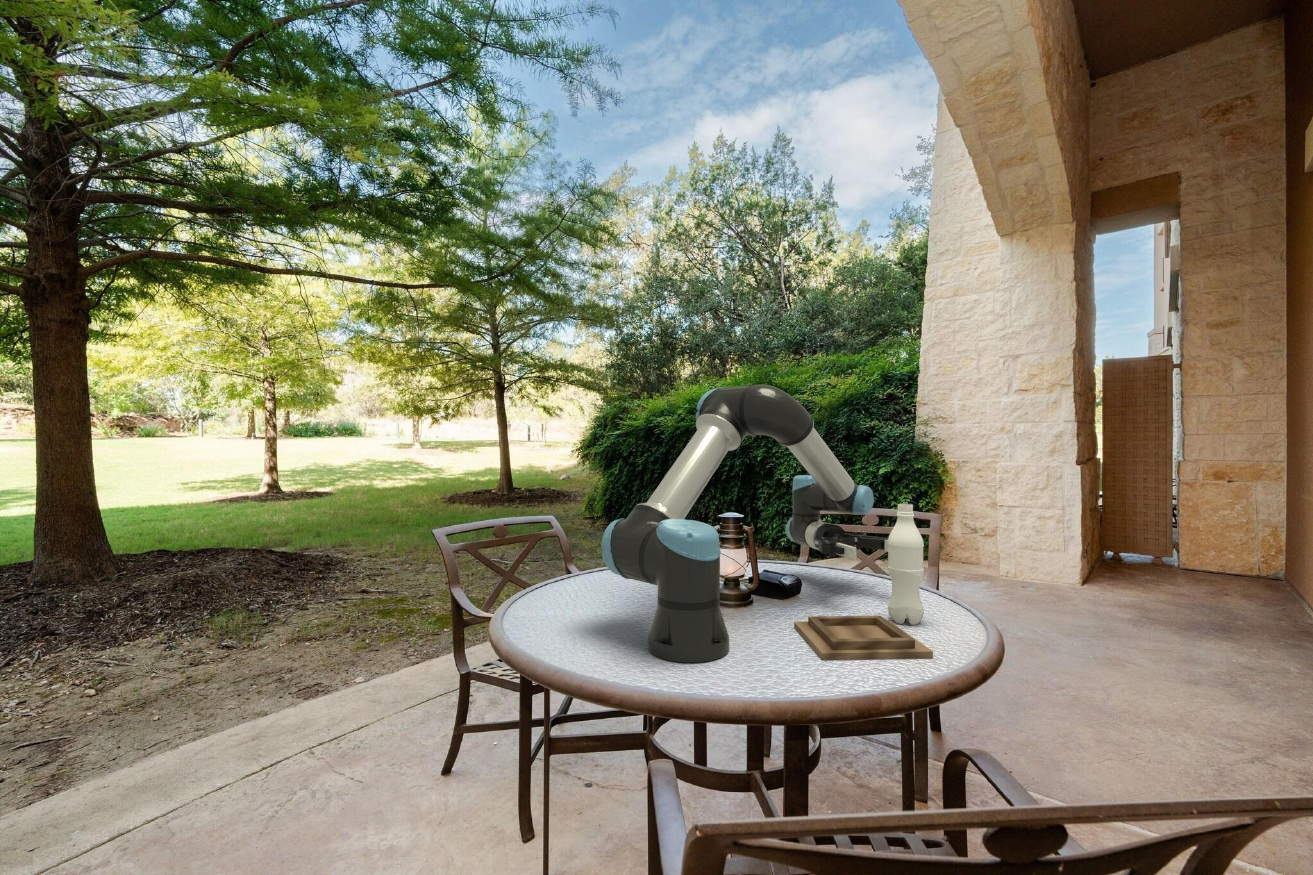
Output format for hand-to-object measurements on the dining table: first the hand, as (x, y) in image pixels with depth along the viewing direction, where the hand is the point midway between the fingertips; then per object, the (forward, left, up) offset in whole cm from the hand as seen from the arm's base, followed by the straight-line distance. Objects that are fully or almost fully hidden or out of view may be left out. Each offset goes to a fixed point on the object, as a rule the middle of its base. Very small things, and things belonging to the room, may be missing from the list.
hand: (880, 552), depth 134 cm
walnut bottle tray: (-13, -20, -13) cm, 27 cm away
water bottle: (+2, -8, -14) cm, 16 cm away
